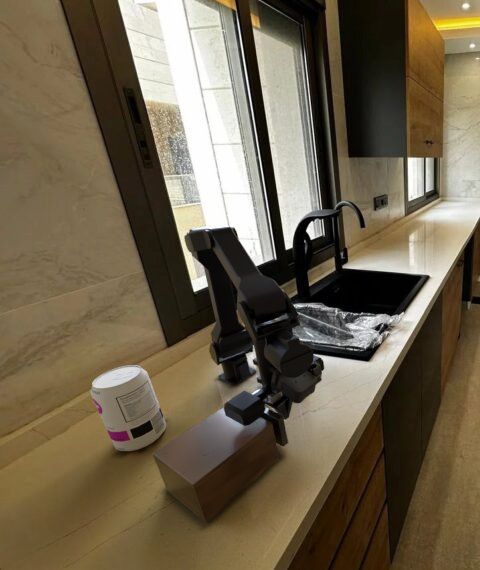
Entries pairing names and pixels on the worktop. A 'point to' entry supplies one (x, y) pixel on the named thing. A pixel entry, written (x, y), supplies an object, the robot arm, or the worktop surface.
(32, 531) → the worktop surface
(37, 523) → the worktop surface
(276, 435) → the drawer
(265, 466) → the cabinet
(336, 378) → the worktop surface
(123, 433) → the supplement can
